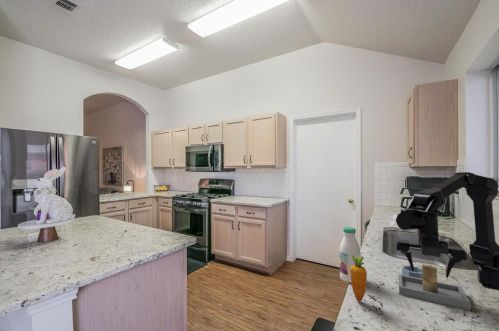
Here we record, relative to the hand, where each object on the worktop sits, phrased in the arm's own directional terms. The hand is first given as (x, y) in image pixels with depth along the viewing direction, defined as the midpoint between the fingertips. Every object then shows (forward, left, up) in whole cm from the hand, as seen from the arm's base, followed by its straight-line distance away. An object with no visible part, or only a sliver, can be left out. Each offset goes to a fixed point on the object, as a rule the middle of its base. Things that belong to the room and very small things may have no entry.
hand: (429, 274), depth 79 cm
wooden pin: (0, 0, -6) cm, 6 cm away
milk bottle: (+25, +2, -7) cm, 26 cm away
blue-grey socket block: (+4, -13, -7) cm, 15 cm away
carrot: (+20, +18, -7) cm, 28 cm away
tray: (0, 0, -7) cm, 7 cm away
